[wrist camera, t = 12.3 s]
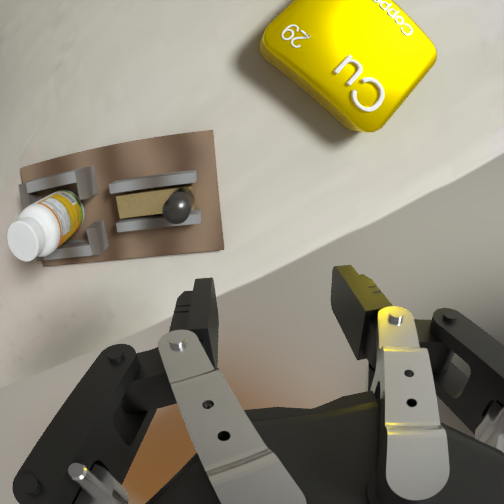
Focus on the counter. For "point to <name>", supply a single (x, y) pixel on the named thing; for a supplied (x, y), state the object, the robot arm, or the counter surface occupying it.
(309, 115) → the counter surface
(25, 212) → the supplement bottle
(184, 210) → the locking bolt
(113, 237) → the docking base
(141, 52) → the counter surface
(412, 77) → the element tile
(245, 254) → the counter surface
